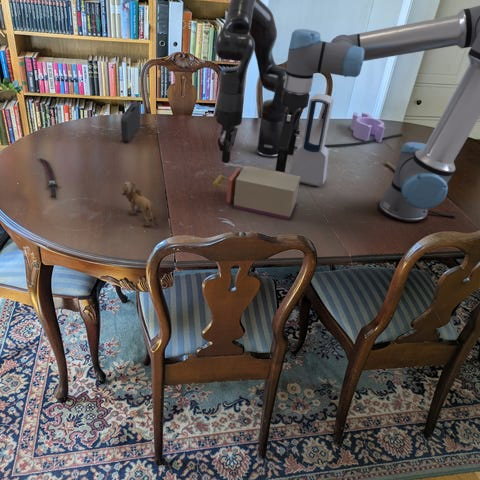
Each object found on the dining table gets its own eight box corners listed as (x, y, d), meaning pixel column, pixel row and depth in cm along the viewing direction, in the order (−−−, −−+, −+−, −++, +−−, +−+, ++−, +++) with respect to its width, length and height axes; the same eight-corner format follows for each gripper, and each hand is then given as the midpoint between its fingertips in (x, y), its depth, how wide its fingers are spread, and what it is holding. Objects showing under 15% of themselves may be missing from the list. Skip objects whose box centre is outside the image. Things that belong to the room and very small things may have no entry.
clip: (343, 126, 223) (346, 112, 219) (367, 127, 225) (371, 113, 221) (360, 142, 206) (364, 127, 202) (386, 142, 209) (390, 127, 205)
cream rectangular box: (233, 207, 146) (236, 179, 141) (242, 192, 155) (245, 165, 150) (289, 219, 143) (294, 191, 137) (295, 203, 152) (300, 176, 147)
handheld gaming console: (134, 123, 200) (133, 100, 195) (140, 124, 200) (140, 100, 195) (121, 142, 181) (119, 117, 175) (128, 143, 181) (127, 118, 175)
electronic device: (325, 180, 169) (342, 97, 152) (321, 188, 163) (339, 103, 146) (292, 173, 172) (306, 91, 155) (287, 181, 165) (301, 96, 149)
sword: (61, 197, 141) (61, 193, 140) (50, 198, 139) (50, 194, 139) (49, 160, 164) (48, 156, 163) (39, 160, 163) (39, 157, 162)
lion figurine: (118, 210, 138) (116, 182, 133) (132, 204, 141) (131, 177, 137) (151, 229, 130) (150, 201, 126) (165, 223, 134) (165, 195, 129)
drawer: (209, 198, 147) (211, 176, 143) (219, 185, 156) (221, 164, 151) (277, 213, 143) (281, 190, 139) (283, 199, 152) (287, 177, 147)
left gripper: (224, 98, 142) (220, 152, 151) (210, 110, 131) (207, 167, 140) (248, 103, 140) (242, 156, 150) (236, 115, 129) (231, 172, 139)
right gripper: (291, 78, 139) (280, 146, 151) (273, 100, 119) (262, 176, 130) (316, 83, 138) (303, 150, 149) (302, 105, 117) (289, 181, 129)
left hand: (225, 161), depth 145 cm, fingers closed
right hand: (284, 162), depth 140 cm, fingers open, 13 cm apart
